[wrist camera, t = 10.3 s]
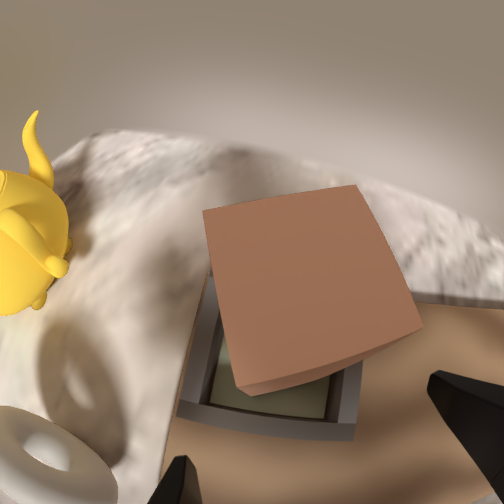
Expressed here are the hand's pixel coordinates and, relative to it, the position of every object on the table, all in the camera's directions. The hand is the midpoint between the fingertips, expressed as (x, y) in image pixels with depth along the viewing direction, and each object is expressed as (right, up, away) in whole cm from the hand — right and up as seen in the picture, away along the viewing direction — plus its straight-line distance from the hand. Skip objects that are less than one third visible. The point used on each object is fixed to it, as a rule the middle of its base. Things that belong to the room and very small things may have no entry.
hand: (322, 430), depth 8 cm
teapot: (-23, +4, +14) cm, 27 cm away
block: (-1, -1, +8) cm, 9 cm away
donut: (-14, -9, +6) cm, 18 cm away
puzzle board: (+14, -7, +7) cm, 17 cm away
